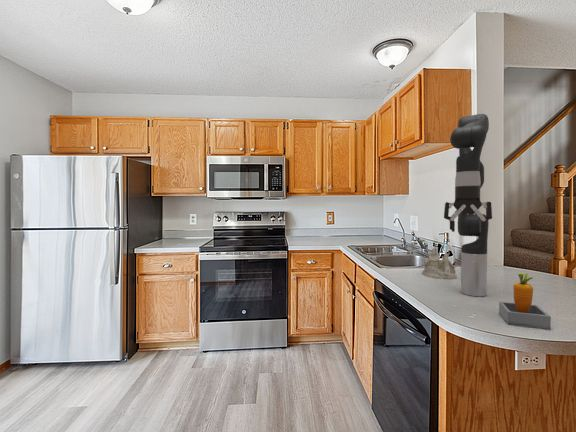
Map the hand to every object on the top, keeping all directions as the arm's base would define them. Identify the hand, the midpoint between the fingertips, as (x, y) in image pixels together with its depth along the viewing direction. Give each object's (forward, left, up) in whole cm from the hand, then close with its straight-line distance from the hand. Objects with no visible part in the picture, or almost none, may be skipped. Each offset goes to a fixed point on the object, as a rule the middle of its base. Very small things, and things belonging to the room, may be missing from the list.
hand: (466, 231), depth 105 cm
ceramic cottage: (-54, -5, -28) cm, 61 cm away
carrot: (+3, +15, -28) cm, 32 cm away
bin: (+3, +16, -28) cm, 32 cm away
